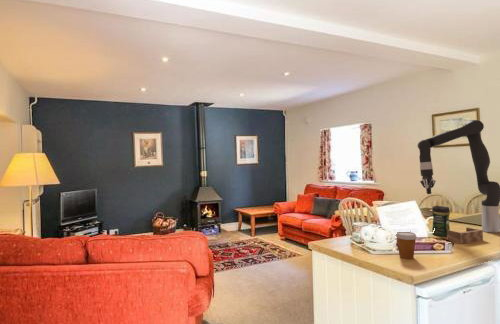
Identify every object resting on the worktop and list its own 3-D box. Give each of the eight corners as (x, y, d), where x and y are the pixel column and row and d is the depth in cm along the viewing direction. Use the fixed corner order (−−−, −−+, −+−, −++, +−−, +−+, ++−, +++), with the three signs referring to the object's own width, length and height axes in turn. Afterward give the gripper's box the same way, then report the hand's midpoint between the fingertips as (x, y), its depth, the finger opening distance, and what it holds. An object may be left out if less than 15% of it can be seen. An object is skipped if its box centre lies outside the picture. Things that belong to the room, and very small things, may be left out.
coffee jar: (430, 234, 208) (429, 205, 208) (436, 232, 212) (435, 204, 212) (446, 237, 200) (445, 207, 200) (452, 235, 204) (451, 206, 204)
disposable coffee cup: (416, 261, 155) (415, 236, 155) (394, 258, 160) (394, 234, 160) (417, 256, 164) (417, 232, 163) (397, 253, 169) (397, 230, 169)
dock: (468, 237, 199) (467, 227, 199) (482, 240, 191) (482, 230, 191) (447, 240, 193) (446, 230, 193) (461, 243, 184) (461, 233, 184)
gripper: (438, 168, 215) (441, 193, 214) (424, 169, 228) (427, 193, 227) (428, 168, 214) (430, 194, 213) (415, 169, 227) (417, 194, 226)
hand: (429, 194), depth 220 cm, fingers closed
